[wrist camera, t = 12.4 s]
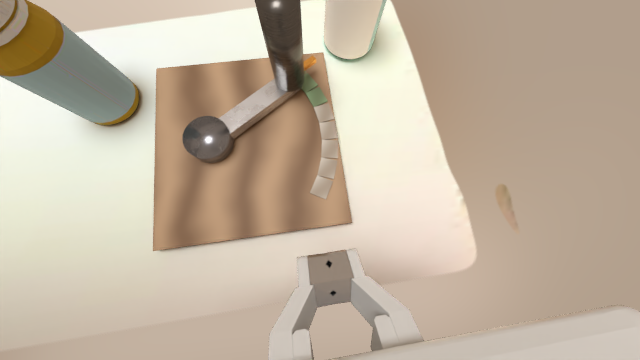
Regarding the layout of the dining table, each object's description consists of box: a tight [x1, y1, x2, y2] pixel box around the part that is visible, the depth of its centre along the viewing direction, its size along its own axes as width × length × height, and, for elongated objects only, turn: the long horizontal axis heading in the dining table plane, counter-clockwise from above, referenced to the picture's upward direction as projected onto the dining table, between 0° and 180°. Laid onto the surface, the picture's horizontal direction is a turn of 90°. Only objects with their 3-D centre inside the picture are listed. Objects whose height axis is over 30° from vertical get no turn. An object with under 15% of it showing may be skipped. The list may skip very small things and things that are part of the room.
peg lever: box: [182, 0, 316, 163], centre depth 23 cm, size 18×5×12 cm, turn 131°
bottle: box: [0, 0, 139, 125], centre depth 22 cm, size 7×7×15 cm
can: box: [324, 0, 386, 59], centre depth 27 cm, size 7×7×12 cm
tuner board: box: [153, 53, 352, 251], centre depth 28 cm, size 22×23×1 cm
